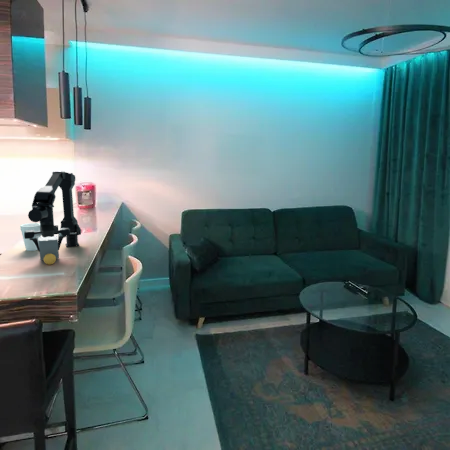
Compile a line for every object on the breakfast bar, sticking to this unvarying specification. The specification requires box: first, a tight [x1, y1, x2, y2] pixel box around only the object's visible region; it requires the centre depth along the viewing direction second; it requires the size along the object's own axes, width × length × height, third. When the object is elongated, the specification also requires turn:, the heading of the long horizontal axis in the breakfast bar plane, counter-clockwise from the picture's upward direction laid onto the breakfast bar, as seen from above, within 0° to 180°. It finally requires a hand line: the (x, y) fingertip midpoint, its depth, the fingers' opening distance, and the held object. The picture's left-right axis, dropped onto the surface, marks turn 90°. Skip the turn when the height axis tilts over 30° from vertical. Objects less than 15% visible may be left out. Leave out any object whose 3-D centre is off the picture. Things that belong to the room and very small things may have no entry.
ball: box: [43, 254, 57, 266], centre depth 154 cm, size 5×5×5 cm
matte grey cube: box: [39, 235, 60, 261], centre depth 160 cm, size 8×8×9 cm
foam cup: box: [19, 222, 42, 252], centre depth 177 cm, size 10×9×13 cm
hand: (49, 250), depth 160 cm, fingers closed on matte grey cube, 8 cm apart
